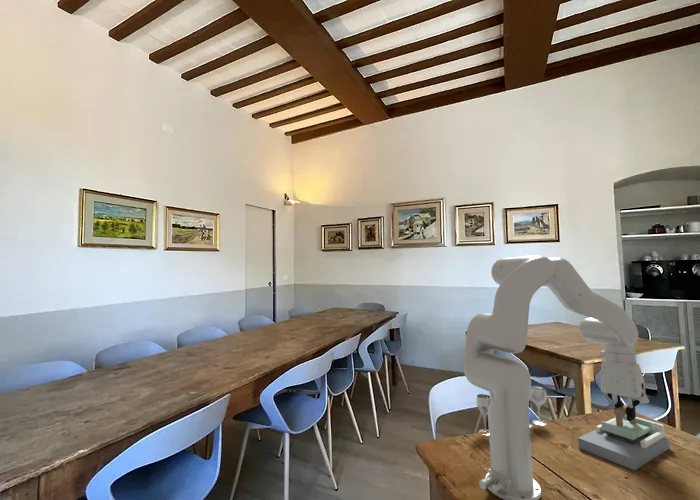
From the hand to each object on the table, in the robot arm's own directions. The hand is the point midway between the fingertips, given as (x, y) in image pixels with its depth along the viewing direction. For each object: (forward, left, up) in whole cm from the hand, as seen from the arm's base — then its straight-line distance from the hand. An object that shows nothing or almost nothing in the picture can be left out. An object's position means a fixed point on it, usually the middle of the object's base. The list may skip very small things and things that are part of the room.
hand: (625, 418), depth 104 cm
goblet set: (-17, +26, -9) cm, 33 cm away
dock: (-3, 0, -8) cm, 9 cm away
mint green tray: (0, 0, -5) cm, 5 cm away
